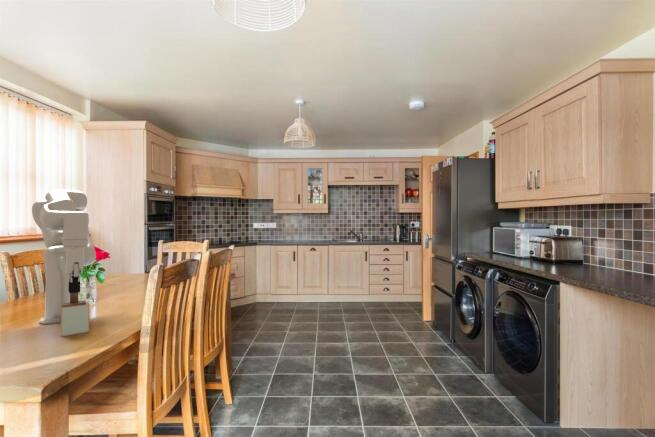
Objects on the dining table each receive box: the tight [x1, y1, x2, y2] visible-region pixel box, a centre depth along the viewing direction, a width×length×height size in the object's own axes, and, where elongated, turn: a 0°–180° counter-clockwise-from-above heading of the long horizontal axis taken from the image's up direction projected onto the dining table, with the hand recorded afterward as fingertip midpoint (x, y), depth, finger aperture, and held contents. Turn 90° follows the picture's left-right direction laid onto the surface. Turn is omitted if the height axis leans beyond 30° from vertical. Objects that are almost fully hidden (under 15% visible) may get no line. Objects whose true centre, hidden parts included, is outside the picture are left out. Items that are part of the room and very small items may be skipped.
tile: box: [60, 303, 90, 337], centre depth 114 cm, size 1×8×10 cm, turn 134°
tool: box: [61, 272, 87, 308], centre depth 119 cm, size 4×7×14 cm, turn 133°
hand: (74, 291), depth 119 cm, fingers closed on tool, 2 cm apart
